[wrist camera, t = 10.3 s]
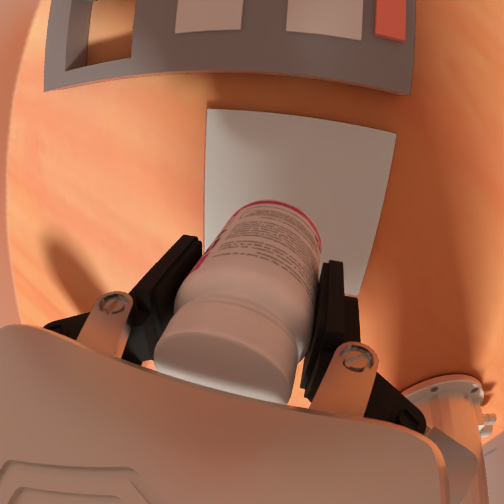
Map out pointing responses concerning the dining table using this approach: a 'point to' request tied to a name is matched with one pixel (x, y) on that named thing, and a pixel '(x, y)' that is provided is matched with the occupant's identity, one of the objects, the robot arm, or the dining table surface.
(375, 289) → the dining table surface
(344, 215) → the mat
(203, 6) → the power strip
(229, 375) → the pill bottle
